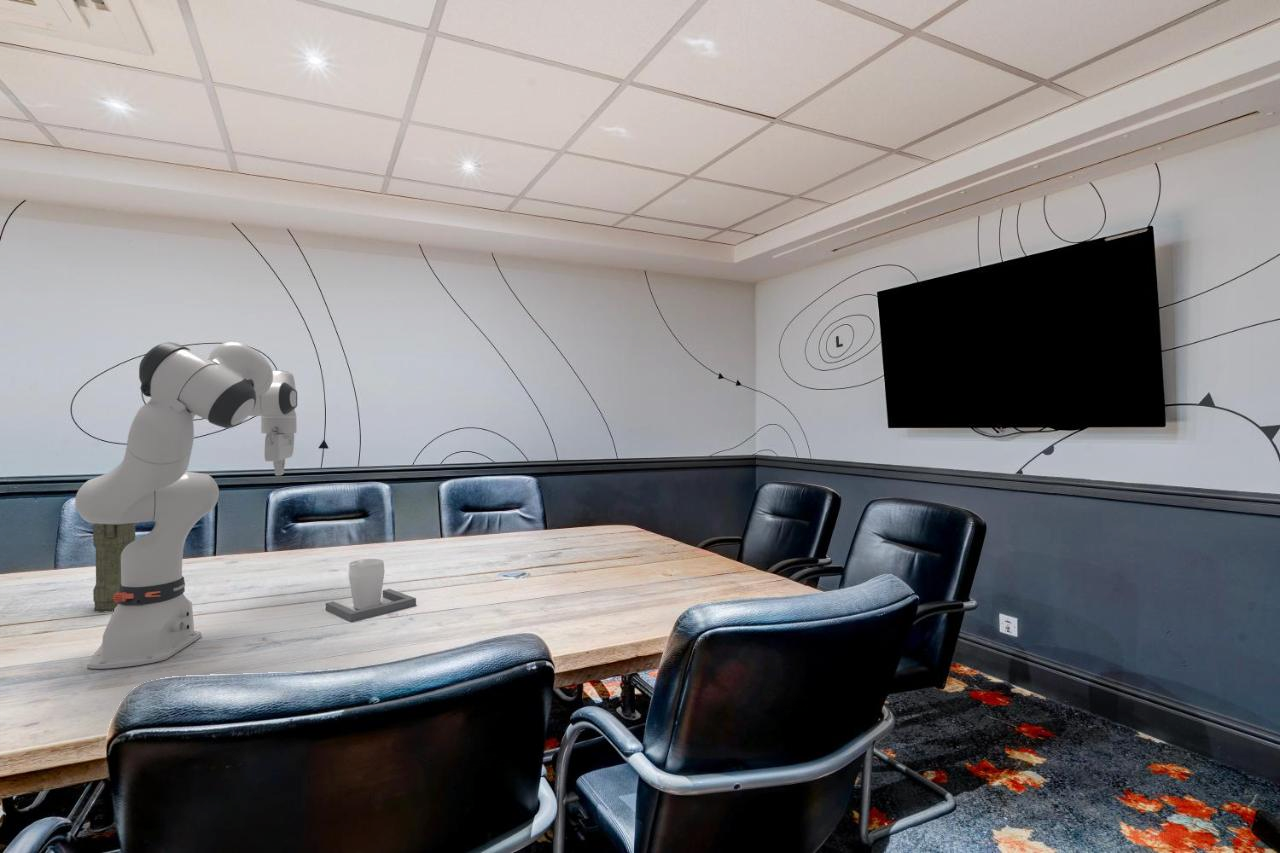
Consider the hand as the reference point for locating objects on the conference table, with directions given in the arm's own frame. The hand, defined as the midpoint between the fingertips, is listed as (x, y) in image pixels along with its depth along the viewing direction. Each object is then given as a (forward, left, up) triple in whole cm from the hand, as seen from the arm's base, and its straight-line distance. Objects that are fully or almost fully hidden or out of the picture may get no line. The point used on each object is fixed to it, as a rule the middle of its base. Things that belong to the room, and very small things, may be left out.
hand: (279, 475), depth 179 cm
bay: (-21, -26, -35) cm, 48 cm away
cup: (-18, -24, -35) cm, 47 cm away
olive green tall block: (+3, +40, -35) cm, 54 cm away
